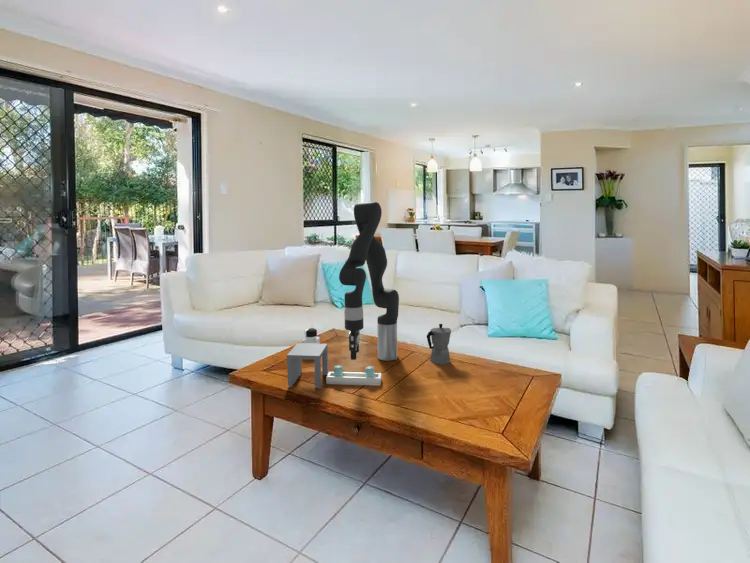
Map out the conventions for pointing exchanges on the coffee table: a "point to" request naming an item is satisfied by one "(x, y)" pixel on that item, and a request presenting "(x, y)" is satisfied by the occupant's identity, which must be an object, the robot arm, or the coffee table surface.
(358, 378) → the tray
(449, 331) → the coffeepot
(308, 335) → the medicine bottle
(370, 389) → the coffee table surface
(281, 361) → the coffee table surface
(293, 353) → the grey stand
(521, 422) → the coffee table surface
